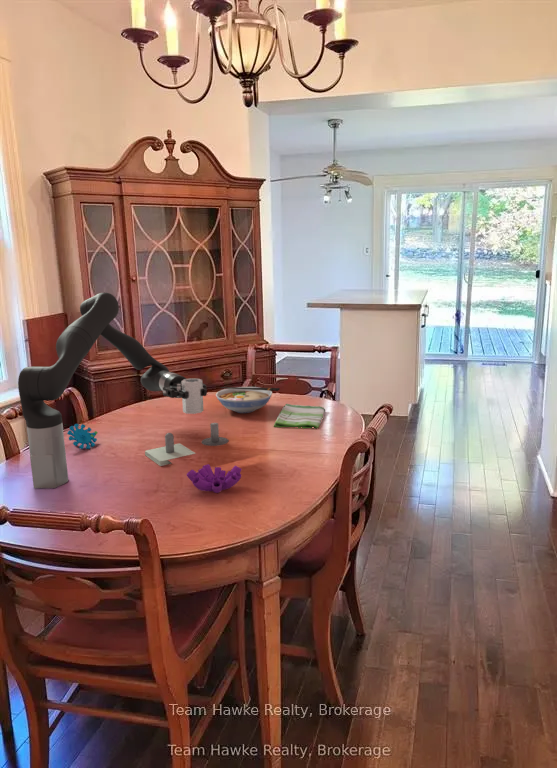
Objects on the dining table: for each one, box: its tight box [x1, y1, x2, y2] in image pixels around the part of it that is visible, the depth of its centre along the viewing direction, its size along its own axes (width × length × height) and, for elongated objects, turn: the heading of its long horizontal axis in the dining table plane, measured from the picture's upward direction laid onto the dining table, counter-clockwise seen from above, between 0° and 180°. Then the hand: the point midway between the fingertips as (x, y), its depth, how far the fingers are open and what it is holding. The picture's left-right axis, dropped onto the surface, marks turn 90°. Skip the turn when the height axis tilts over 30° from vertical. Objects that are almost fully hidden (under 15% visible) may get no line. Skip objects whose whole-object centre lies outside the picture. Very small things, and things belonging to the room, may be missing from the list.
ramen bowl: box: [215, 386, 280, 414], centre depth 233 cm, size 25×23×8 cm
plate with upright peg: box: [144, 432, 197, 467], centre depth 183 cm, size 12×12×8 cm
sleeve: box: [181, 378, 205, 415], centre depth 184 cm, size 6×6×10 cm
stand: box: [200, 422, 229, 447], centre depth 192 cm, size 9×9×8 cm
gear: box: [66, 423, 98, 450], centre depth 194 cm, size 11×6×10 cm
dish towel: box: [273, 403, 326, 429], centre depth 221 cm, size 17×23×4 cm
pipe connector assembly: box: [186, 463, 243, 494], centre depth 156 cm, size 11×15×10 cm
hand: (195, 394), depth 182 cm, fingers closed on sleeve, 6 cm apart
